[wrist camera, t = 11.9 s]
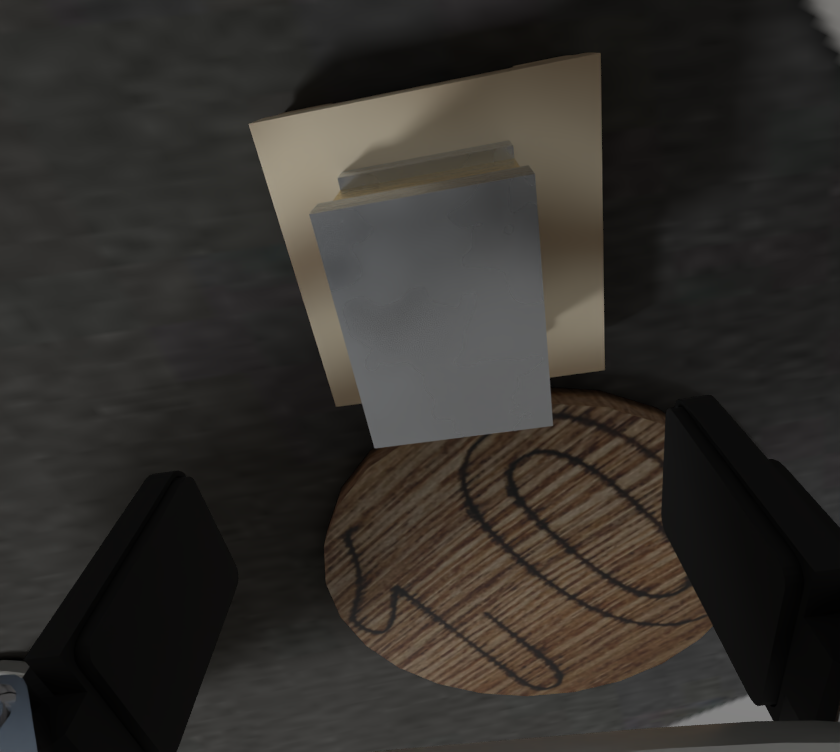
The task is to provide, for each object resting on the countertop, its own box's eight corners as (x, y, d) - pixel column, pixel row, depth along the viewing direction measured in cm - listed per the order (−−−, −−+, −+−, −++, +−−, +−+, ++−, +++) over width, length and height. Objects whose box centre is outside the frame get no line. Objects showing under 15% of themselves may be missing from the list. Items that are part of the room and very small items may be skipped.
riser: (588, 338, 26) (604, 369, 24) (345, 373, 28) (336, 407, 25) (580, 52, 20) (600, 52, 18) (271, 115, 22) (248, 124, 19)
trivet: (522, 708, 43) (525, 734, 42) (252, 560, 36) (243, 585, 34) (822, 544, 33) (842, 569, 32) (536, 287, 26) (543, 303, 24)
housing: (509, 140, 19) (534, 173, 14) (527, 342, 23) (552, 426, 18) (342, 171, 20) (309, 214, 15) (388, 362, 24) (374, 448, 19)
